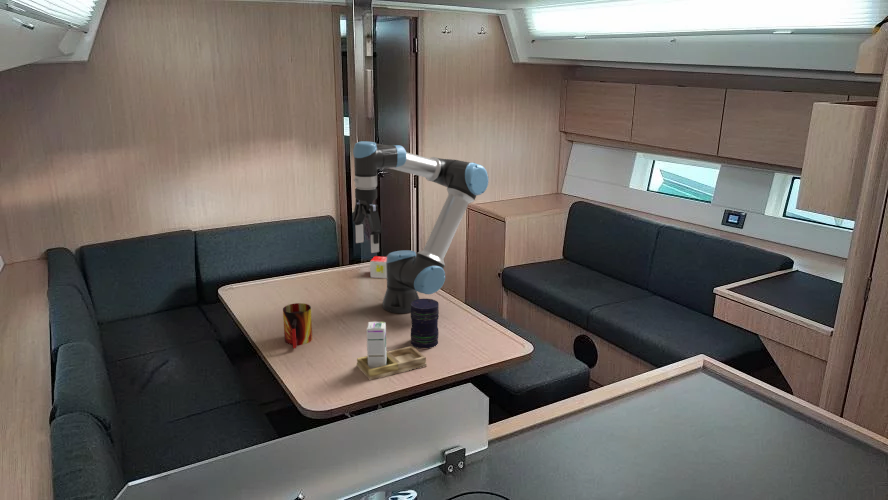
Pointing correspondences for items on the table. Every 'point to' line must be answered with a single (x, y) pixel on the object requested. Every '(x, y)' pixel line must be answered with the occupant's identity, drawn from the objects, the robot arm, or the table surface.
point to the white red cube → (378, 267)
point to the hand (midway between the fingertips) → (367, 247)
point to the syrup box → (376, 344)
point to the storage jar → (424, 323)
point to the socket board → (394, 363)
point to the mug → (297, 324)
